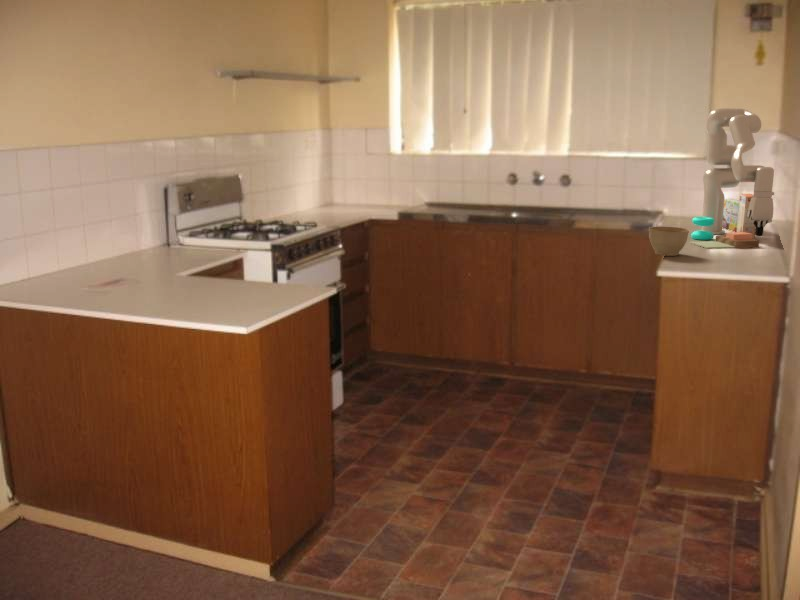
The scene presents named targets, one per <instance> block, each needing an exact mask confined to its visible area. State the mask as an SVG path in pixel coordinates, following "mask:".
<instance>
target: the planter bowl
mask: <svg viewBox="0 0 800 600" xmlns="http://www.w3.org/2000/svg"><path fill="white" fill-rule="evenodd" d="M689 233H690V230H689V229H688V228H683V227H675V226H650V227H648V239H649V242H650V244H651V247H652V248H653V250H654V254H655V255H658V256H664V257H665V256H666V257H674V256H678V255H680V252H681V251H682V249H684V246H685V245H686V243H687V241H688V238H689V237H688V236H689Z"/></svg>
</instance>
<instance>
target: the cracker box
mask: <svg viewBox="0 0 800 600" xmlns="http://www.w3.org/2000/svg"><path fill="white" fill-rule="evenodd" d="M753 195H754V193H753V194H752V193H740V194H739V200H740V201H739V212H738V222H737V232H747V233H750V234H752V239H754V240H755V236H756V235H755V228H756V227H755V226H754V224H753V223H750V222H748V221H749V219H748V209H749V204H750V201H751V198H753ZM753 221H754V220H753Z"/></svg>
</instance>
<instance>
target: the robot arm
mask: <svg viewBox="0 0 800 600" xmlns="http://www.w3.org/2000/svg"><path fill="white" fill-rule="evenodd" d="M724 127H725V128H726V127H727V128H728V127H729V130H730V133H731V134H730V135H731V136H732V137H731V138H732V141H733V144H734V145H733V144H729V145H728V135H727V134H728V133H727V132H726V131H725V129H724ZM761 128H762V120H761V118H760V117H759V115H757V114H756V113H753V112H752V111H749V110H748V109H745V108H717V109H713V110H711V112H710V113H709V114H708V116H707V119H706V129H707V135H708V139H707V162H708V164H710V165H711V166H726V167H713V168H709V169H707V170H705V172H704V173H703V178H702V181H703V204H702V205H703V207H702V216H701V217H710V218H713V219H714V220H715V222H714V224H713V225H711V226H701V228H700V229H697V231H709V232H711V233H712V234H713V235H725V234H726V231H725V229H723V228H722V223H723V212H724V199H726V198H725V194H724V191H723V190H722V189H724V188H735V187H737V186H739V184H740V183H754V184H753V185H754V186H753V188H754V189H753V198H751V201H750V204H749V209H748V219H749V221H748V222H750V223H753V224H754V226H755V236H757V237H762V236H763V235H764V228H765V227H766V226H767V224H770V223H772V221H773V217H774V199H773V198H772V196H774V195H775V192H774V191H773V186H774V175H775V174H774V173H775V169H774V167H771V166H764V165H756V164H755V165H754V164H753V165H751V164H750V165H749V164H748V165H744V164H743V163H744V162H743V159H742V157H743V154H744V153H747V152H749V151H751V150H752V149H753V148H755V145H756V141H755V138H754V134H756V133H758V132H760V130H761ZM753 220H754V221H753Z"/></svg>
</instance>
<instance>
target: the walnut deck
mask: <svg viewBox="0 0 800 600" xmlns="http://www.w3.org/2000/svg"><path fill="white" fill-rule="evenodd" d="M715 241H717V242H721V243H724V244H728V245H731V246H734V247H735V248H734V249H748V248H747V247H758V248H759V245H760V241H759V240H757V239H755V238H754V239H730V238H727V237H726V235H716V236H715Z"/></svg>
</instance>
